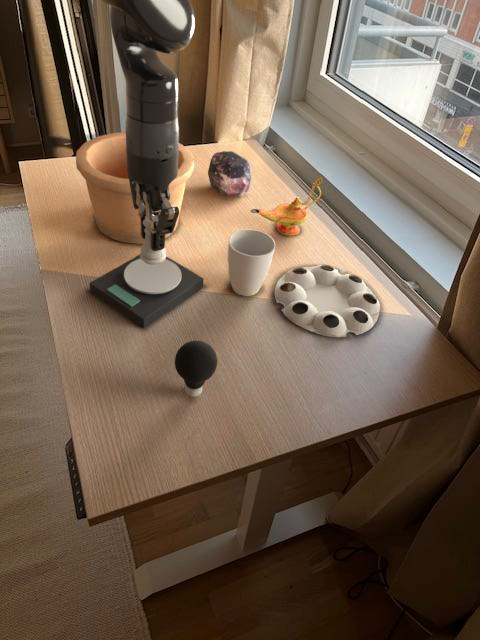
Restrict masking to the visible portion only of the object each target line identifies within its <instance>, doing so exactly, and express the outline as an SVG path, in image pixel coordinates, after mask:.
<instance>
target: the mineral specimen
mask: <svg viewBox="0 0 480 640" xmlns="http://www.w3.org/2000/svg"><path fill="white" fill-rule="evenodd" d="M207 175H208V180H209V183H210V187H211V188H212V190H214V191H215V192H217V193H218V194H220V195H221V196H223V197H227V198H228V197H236V196H243V195H246V194H247V193H248V192H249V190H250V185H251V181H252V168H251V164H250V161H249V160H248V159H246V158H244V156H242V155H240V154H238V153H236V152H234V151H230V150H227V151H226V150H225V151H224V150H223V151H217V152H215V153H214V154H213V155H212V156H211V158H210V161H209V165H208V171H207Z"/></svg>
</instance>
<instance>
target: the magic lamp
mask: <svg viewBox="0 0 480 640" xmlns="http://www.w3.org/2000/svg"><path fill="white" fill-rule="evenodd" d="M322 182H323V177H322V176H321V177H318V178H316V179H314V181H313V183H312V186H311V189H310V193H309V195H308V197H307V199H306V200H305V201H304V202H302V201H300V197H299V196H298V197H295V199H294V200H293V201H291V202H290V203H289V202H286V203H281V204H279V205H277V206H276V207H274V208H272V209H270V210H269V209H268V210H266V209H262V208H252V209H250V213H252V214H258V215H260V216H261V217H263V218H264V219H266V220H268V221H270V222H272V223H276V227H275V228H276V230H277V232H279V233H280V234H282V235H285V236H296V235H298V234H299V233H300V228H299V226H300V225H302V224H303V223H305V222H306V221H307V219H308V215H309V212H308V211H307V210H308V209H309V208H310V207H311V206H312V205H314V203H315V202H317V201H318V200H319V199H320V197H321V196H322V190H321V188H320V186H319V185H321V184H322ZM316 188H317V190H318V191H319V194H318V196H317V197H316V198H315V199H314V200H313V201H312V202H310V200H311V199H312V196H313V194H314V191H315V189H316ZM309 202H310V203H309ZM308 203H309V204H308ZM307 204H308V205H307ZM303 206H305V207H303Z"/></svg>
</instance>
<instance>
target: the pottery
mask: <svg viewBox="0 0 480 640" xmlns="http://www.w3.org/2000/svg"><path fill="white" fill-rule="evenodd" d="M75 153H76V154H75V165H76V166H75V167H76V170H77V171H78V172H79V173H80V175H81V176H82V177H83V178H84V180H85V183H86V184H85V185H86V188H87V192H88V196H89V199H90V204H91V208H92V211H93V214H94V219H95V224H96V227H97V228H98V229H99V231H100V232H101V233H102V234H104V235H106V236H107V237H108V238H111V239H112V240H115V241H118V242H122V243H124V244H135V245H136V244H137V245H138V244H139V245H141V244H142V245H143V244H144V242H145V239H143V238H142V236H141V220H140V219H141V218H139V216H138V209H135V208H134V206H133V200H132V194H131V189H130V183H129V178H128V173H127V156H126V131H124V132H112V133H107V134H102V135H98V136H95V137H93V138H92V139H90V140H87V141H86V142H84V143H83V144H82V145H81V146H80V147H79V148H78V149H77V150H76V152H75ZM194 169H195V162H194V157H193V154H192V152H191V151H190V150H188V148H186V146H184V145H183V144H182V143H180V142H179V152H178V174H177V177H176V178H175V179H174V180H173V181H172V182H171V183H170V184H169V191H170V200H169V202H170V203H171V205H172V207H176V206H177V207H178V208H179V216H178V219H177V221H176V224H175V227H174V230H173V233H174V232H175V231H176V230H177V227H178V225H179V219H180V213H181V210H182V204H183V199H184V193H185V189H186V183H187V181H188V180H190V178H191V176H192V173H193V172H194ZM160 211H161V210H160ZM155 212H159V211H155ZM171 234H172V233H170V234H165V239H166V238H168V237H169V236H171Z"/></svg>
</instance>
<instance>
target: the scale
mask: <svg viewBox="0 0 480 640" xmlns="http://www.w3.org/2000/svg"><path fill="white" fill-rule="evenodd" d="M204 281H205V278H204V277H202V276H200V275H199V274H197V273H195V272H194V271H192V270H190V269H189V268H187V267H185V266H183V265H181V264H180V263H179V262H177V261H175V260H173V259H172V258H170V257H169V256H167V255H166V258H165V260H164V261H163V262H161V263H160V264H156V265H151V264H147V263H145V262H144V261H143V260H142V259H141V258H140V254H137V255H136V256H135V257H133V258H131V259H130V260H127V261H126V262H124V263H122V264H120V265H119V266H117V267H115V268H113V269H112V270H110V271H107V272H106V273H105V274H103V275H101V276H99V277H97V278H96V279H94V280H92V281H90V282H89V290H90V293H91V294H93V295H95V297H98V298H99V299H101V300H102V301H103V302H105V303H106V304H107V305H109V306H111V307H112V308H114V309H115V310H116V311H118V312H119V313H121V314H122V315H124V316H125V317H127V318H128V319H130V320H131V321H133V322H134V323H135V324H138V325H139V326H140V327H141V328H146V327H147V326H149V325H151V324H152V323H153V322H155V321H156V320H158V319H160V318H161V317H162V316H163V315H165V314H166V313H168V312H169V311H171V310H172V309H174V307H177V306H178V305H180V304H181V303H182V302H184V301H185V300H186V299H188V298H190V297H191V296H192V295H194V294H195V293H197V292H198V291H200V290H201V289H203V288H204Z"/></svg>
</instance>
